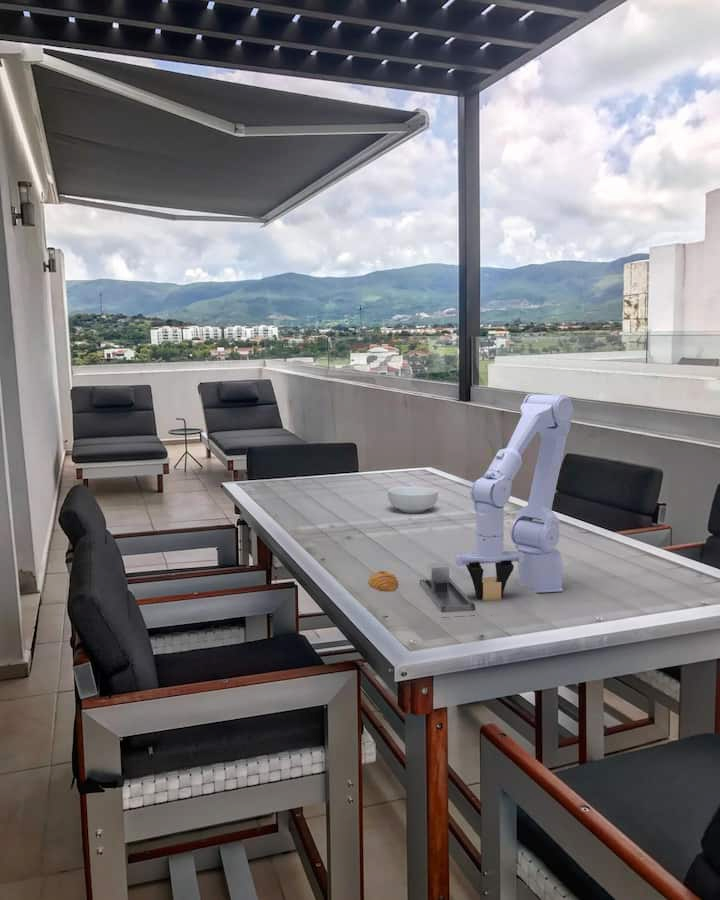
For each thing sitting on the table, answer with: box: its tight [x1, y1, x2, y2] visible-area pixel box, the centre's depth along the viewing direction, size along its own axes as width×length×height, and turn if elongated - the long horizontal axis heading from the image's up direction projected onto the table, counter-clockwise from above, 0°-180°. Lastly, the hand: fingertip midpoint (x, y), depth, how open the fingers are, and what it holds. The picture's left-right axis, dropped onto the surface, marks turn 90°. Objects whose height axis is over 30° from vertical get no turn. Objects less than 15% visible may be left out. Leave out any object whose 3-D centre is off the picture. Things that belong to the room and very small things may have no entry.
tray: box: [419, 577, 476, 619], centre depth 176 cm, size 7×20×2 cm, turn 9°
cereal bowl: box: [387, 486, 439, 514], centre depth 274 cm, size 17×17×7 cm
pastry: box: [367, 570, 400, 593], centre depth 184 cm, size 9×7×4 cm
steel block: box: [426, 562, 450, 592], centre depth 182 cm, size 4×6×5 cm
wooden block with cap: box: [480, 576, 502, 601], centre depth 176 cm, size 4×6×5 cm
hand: (489, 595), depth 175 cm, fingers closed on wooden block with cap, 4 cm apart
